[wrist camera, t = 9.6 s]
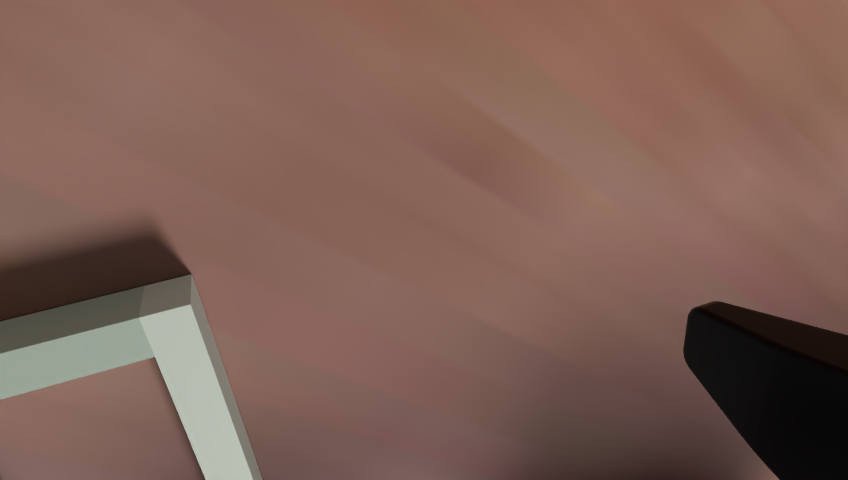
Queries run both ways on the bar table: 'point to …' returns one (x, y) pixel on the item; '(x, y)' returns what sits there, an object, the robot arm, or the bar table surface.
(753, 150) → the bar table surface
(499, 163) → the bar table surface
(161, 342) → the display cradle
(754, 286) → the bar table surface
